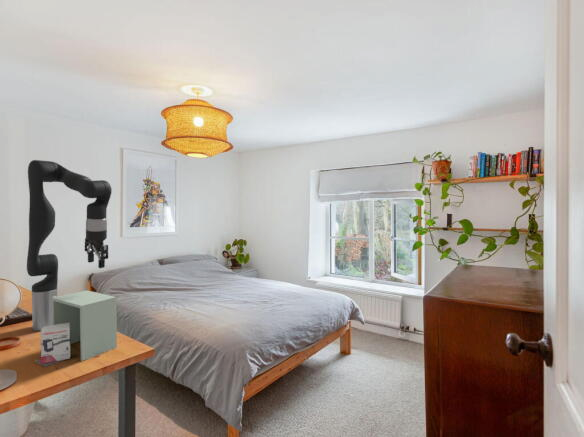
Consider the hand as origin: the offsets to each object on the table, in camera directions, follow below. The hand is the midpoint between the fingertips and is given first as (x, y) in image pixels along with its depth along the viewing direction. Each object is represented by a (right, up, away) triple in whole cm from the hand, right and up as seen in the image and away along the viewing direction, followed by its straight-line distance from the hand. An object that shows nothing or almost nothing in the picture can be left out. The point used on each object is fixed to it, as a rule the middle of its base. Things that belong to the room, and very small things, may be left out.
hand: (96, 264), depth 138 cm
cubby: (+3, -31, -12) cm, 33 cm away
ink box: (-1, -31, -21) cm, 38 cm away
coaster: (-3, -31, -22) cm, 38 cm away
